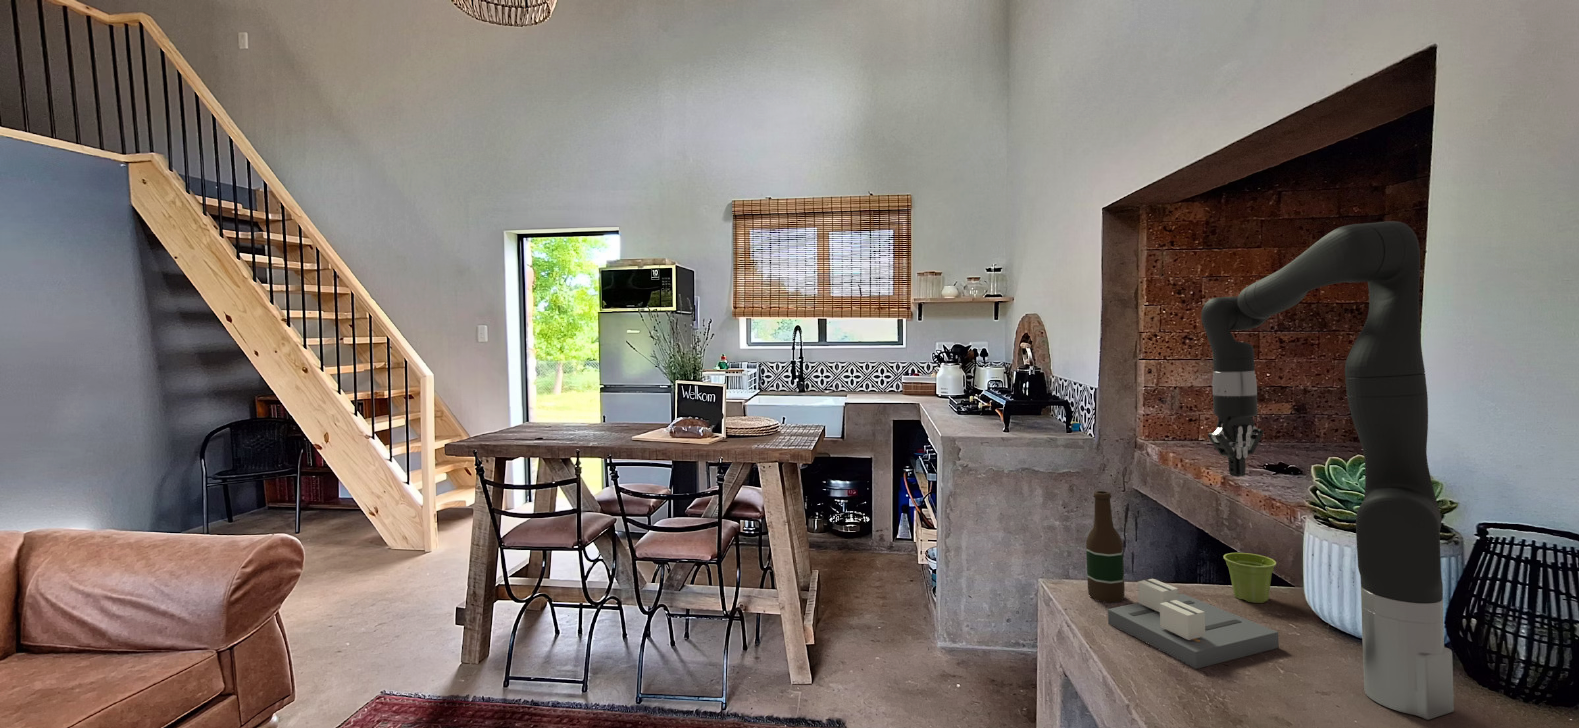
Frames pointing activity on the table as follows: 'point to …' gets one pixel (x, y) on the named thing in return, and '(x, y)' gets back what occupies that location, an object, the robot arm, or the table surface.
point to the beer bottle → (1104, 554)
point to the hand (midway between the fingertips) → (1237, 475)
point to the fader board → (1219, 644)
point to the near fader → (1182, 619)
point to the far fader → (1155, 593)
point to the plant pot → (1250, 576)
